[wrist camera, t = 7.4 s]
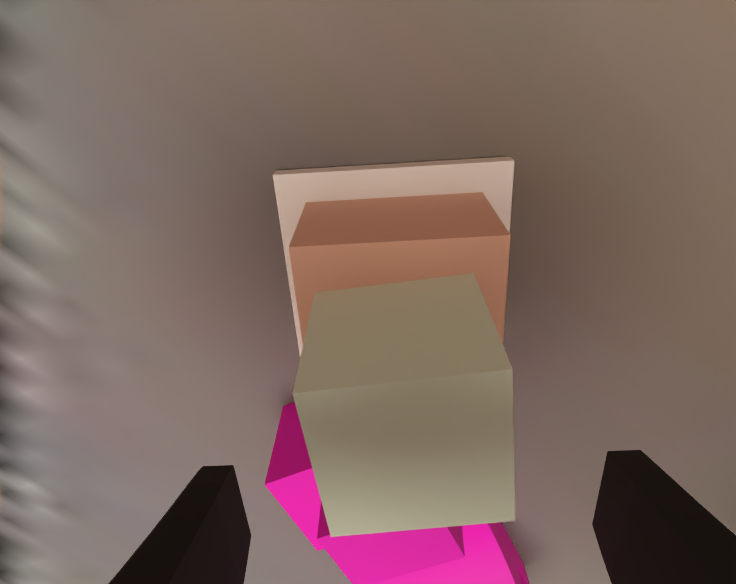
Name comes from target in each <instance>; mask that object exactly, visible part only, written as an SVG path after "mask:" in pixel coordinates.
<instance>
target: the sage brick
mask: <svg viewBox="0 0 736 584" xmlns="http://www.w3.org/2000/svg"><path fill="white" fill-rule="evenodd" d="M292 394H293V398H294V402H295V405H296V409H297V413H298V416H299V420H300V424H301V428H302V431H303V435H304V439H305V442H306V446H307V450H308V454H309V457H310V461H311V465H312V468H313V472H314V476H315V480H316V483H317V487H318V491H319V495H320V498H321V502H322V506H323V509H324V513H325V517H326V521H327V524H328V528H329V532H330V535H331V537H337V536H349V535H360V534H372V533H383V532H394V531H406V530H417V529H429V528H440V527H452V526H463V525H475V524H486V523H498V522H509V521H515V472H514V415H513V369H512V366H511V364H510V361H509V359H508V356H507V354H506V352H505V349H504V347H503V344H502V342H501V339H500V337H499V334H498V332H497V329H496V327H495V324H494V322H493V319H492V317H491V314H490V312H489V309H488V307H487V304H486V302H485V300H484V297H483V295H482V292H481V290H480V287H479V285H478V282H477V280H476V277H475V275H474V273H468V274H460V275H452V276H444V277H436V278H428V279H420V280H412V281H404V282H396V283H388V284H380V285H372V286H364V287H356V288H348V289H340V290H332V291H324V292H316V293H315V294H314V299H313V303H312V308H311V312H310V317H309V321H308V326H307V330H306V335H305V339H304V344H303V348H302V353H301V357H300V361H299V366H298V370H297V375H296V379H295V384H294V388H293V393H292Z"/></svg>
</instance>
